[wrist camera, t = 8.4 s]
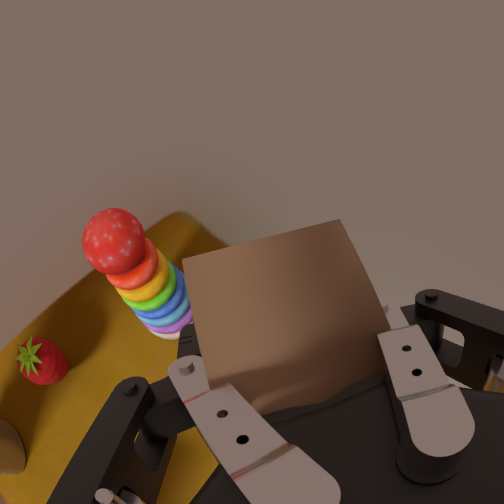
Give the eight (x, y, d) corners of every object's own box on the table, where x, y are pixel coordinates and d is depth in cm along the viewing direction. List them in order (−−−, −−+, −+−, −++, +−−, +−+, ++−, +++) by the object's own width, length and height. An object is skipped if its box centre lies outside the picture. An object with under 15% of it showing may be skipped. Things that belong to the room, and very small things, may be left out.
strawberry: (46, 348, 31) (-1, 326, 22) (85, 349, 31) (39, 326, 23) (45, 388, 28) (-4, 374, 19) (86, 392, 28) (36, 381, 20)
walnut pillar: (245, 416, 14) (222, 434, 6) (223, 338, 17) (181, 259, 8) (327, 390, 15) (406, 369, 6) (301, 316, 17) (339, 219, 9)
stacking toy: (168, 270, 37) (111, 167, 21) (217, 300, 35) (181, 200, 18) (132, 317, 34) (45, 238, 17) (180, 353, 31) (103, 294, 15)
